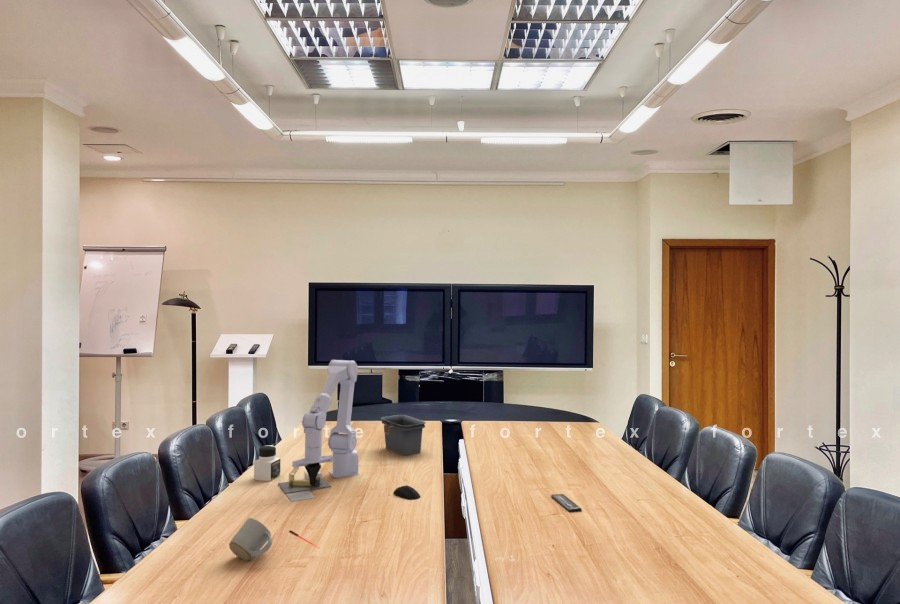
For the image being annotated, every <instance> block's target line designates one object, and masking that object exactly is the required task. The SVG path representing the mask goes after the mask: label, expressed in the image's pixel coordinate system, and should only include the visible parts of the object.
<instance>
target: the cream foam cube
mask: <svg viewBox="0 0 900 604" xmlns="http://www.w3.org/2000/svg"><path fill="white" fill-rule="evenodd" d="M303 472H304V474H303V475H304V478H303V479H309V475H308V472H307V470H305V471H303ZM322 476H323V473H322V472H321V470H319V472H318V474H317V477H320V483H322V478H323V477H322ZM317 477H316V478H317Z"/></svg>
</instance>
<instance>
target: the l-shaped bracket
mask: <svg viewBox="0 0 900 604" xmlns="http://www.w3.org/2000/svg"><path fill="white" fill-rule="evenodd" d="M298 470H300V467H297V468H294V467H292V469H291V471H290V472H289V474H288V482H289V486H308V485H310V479H304V478H303V479H304V480H303V479H295V475H296V474H297V472H298ZM314 486H320V477H317V478H316V480H315V485H314Z"/></svg>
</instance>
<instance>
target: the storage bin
mask: <svg viewBox="0 0 900 604" xmlns="http://www.w3.org/2000/svg"><path fill="white" fill-rule="evenodd" d="M380 420H381V424H383V433H384V441H385V442H384V443H385V449H387V450H390V451H392V452H395V454H396V453H397V454H399V455H401V456H404V457H405V456H406V457H407V456H410V455H416V454H417V455H418V454H420V453H421V451H422V438H423V429H424V428H426V423H427V422H426V421H424V420H423V419H422V420H421V419H418V418H416V417H413V416H409V415H406V414H396V415H395V414H394V415H389V416H382V417H380Z"/></svg>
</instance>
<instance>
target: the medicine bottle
mask: <svg viewBox="0 0 900 604" xmlns="http://www.w3.org/2000/svg"><path fill="white" fill-rule="evenodd" d="M276 447H277V446H274V445H269V444H268V445H263V446H261V447H259V449H258V459H256V460H254V462H253V480H254V481H261V480H262V481H264V482H272V481H274V480H275V478H276V479H277V478H279V477H280V476H281V457H280V456H279V457H278V456H277V455H276V453H277V452H276V451H277V448H276Z"/></svg>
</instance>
